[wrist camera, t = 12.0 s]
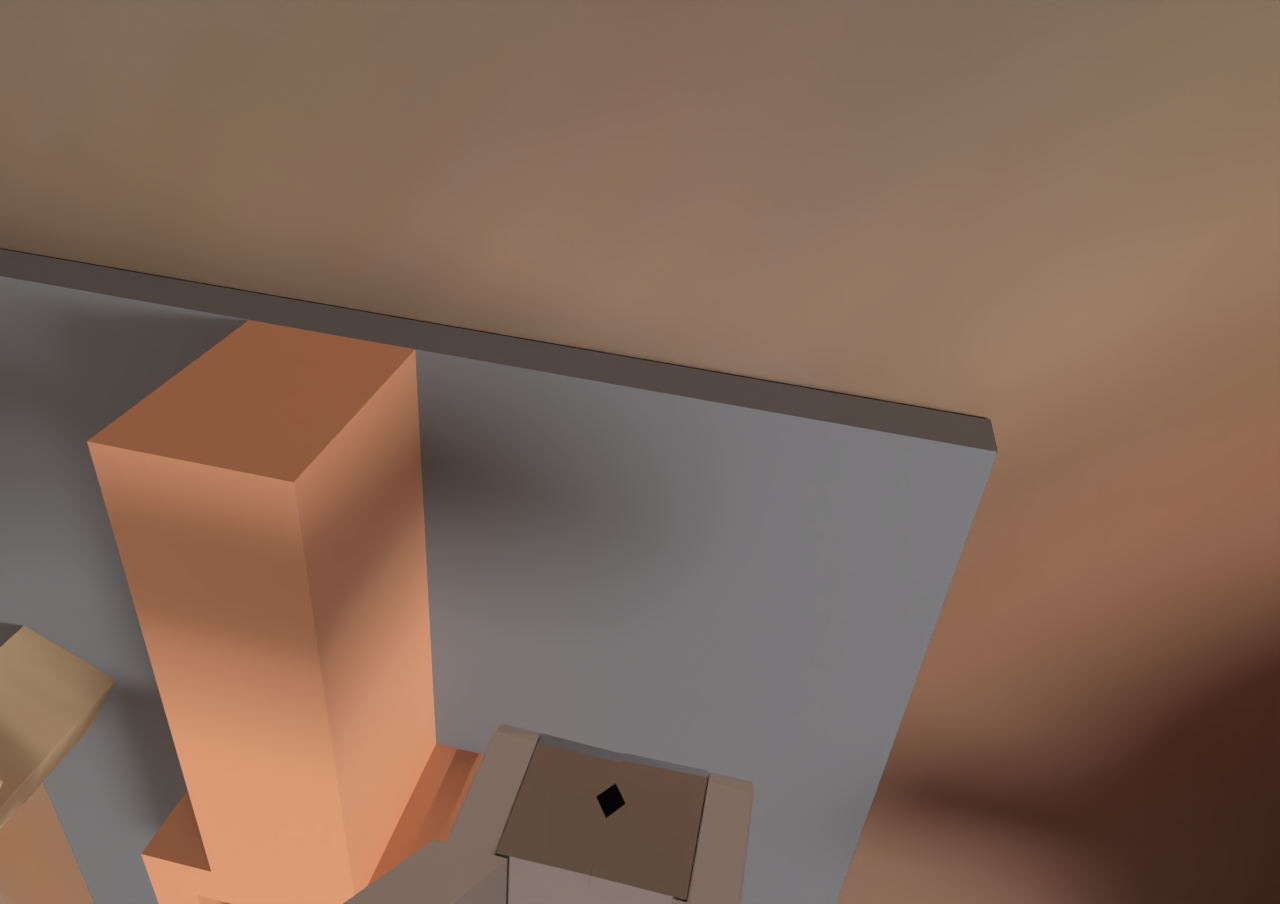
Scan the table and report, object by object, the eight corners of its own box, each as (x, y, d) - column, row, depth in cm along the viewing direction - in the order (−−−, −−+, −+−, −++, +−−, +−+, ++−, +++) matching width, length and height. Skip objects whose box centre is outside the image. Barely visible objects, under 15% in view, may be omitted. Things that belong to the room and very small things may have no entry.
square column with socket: (499, 908, 24) (441, 1074, 21) (284, 854, 25) (195, 1007, 22) (501, 364, 15) (401, 503, 12) (167, 306, 16) (-12, 421, 13)
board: (-135, 226, 18) (-184, 243, 17) (990, 419, 15) (997, 452, 14) (134, 921, 31) (114, 950, 30) (760, 1087, 28) (756, 1123, 28)
